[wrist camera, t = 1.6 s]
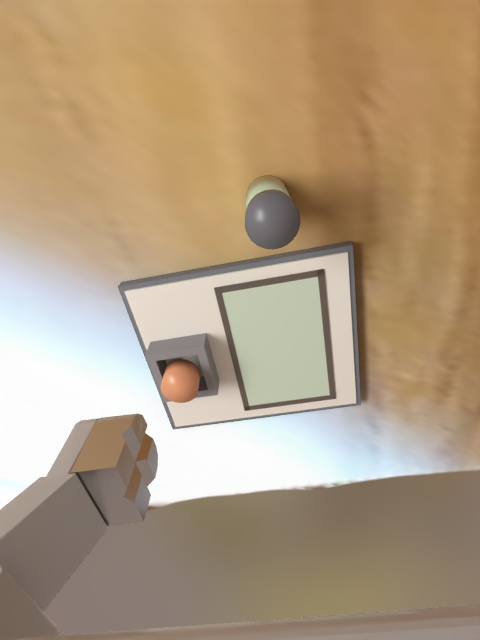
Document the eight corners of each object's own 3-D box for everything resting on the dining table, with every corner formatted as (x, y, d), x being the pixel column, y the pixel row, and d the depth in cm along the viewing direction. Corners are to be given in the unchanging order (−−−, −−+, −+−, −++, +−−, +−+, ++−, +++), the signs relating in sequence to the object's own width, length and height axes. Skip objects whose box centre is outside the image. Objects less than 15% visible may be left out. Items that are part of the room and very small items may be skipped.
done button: (195, 356, 35) (192, 371, 33) (204, 385, 36) (201, 400, 34) (160, 362, 35) (155, 376, 33) (170, 389, 37) (166, 405, 35)
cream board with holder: (350, 241, 32) (360, 254, 29) (358, 398, 41) (367, 421, 38) (121, 282, 35) (108, 298, 32) (174, 422, 43) (168, 446, 40)
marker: (285, 170, 30) (296, 188, 23) (290, 214, 31) (303, 244, 24) (242, 179, 30) (240, 200, 23) (249, 222, 32) (250, 253, 25)
